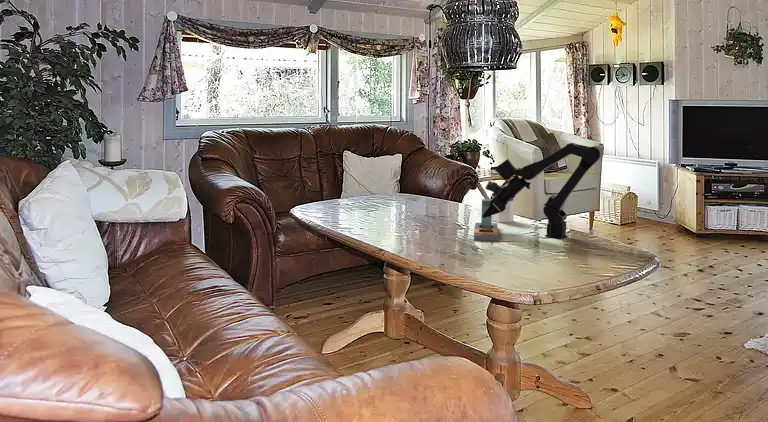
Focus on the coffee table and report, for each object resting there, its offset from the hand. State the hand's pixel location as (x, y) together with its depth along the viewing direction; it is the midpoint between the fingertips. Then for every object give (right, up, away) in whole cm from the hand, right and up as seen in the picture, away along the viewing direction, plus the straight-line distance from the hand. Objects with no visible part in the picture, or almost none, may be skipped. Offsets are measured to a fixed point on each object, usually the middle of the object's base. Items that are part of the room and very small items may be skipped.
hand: (483, 215), depth 260 cm
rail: (0, -7, -4) cm, 9 cm away
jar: (+12, -3, +24) cm, 27 cm away
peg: (+1, -7, +1) cm, 7 cm away
